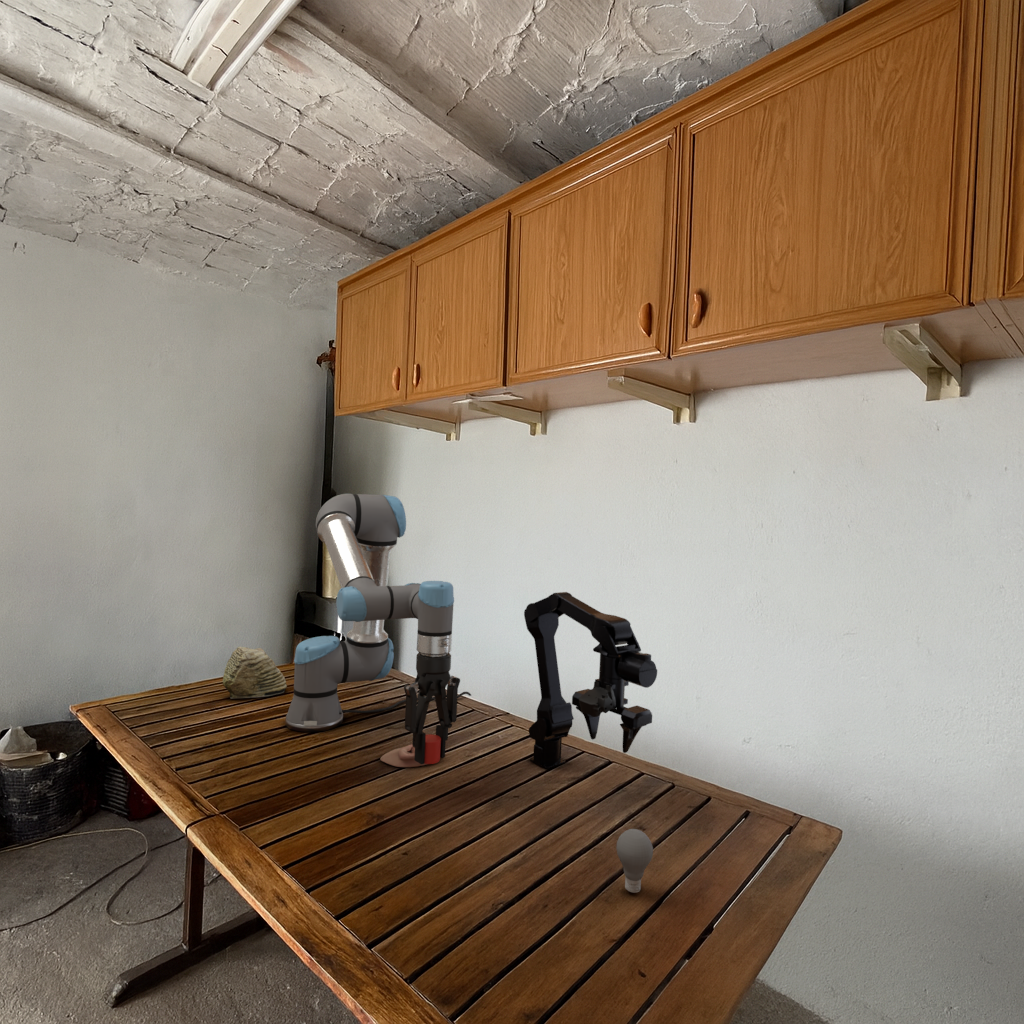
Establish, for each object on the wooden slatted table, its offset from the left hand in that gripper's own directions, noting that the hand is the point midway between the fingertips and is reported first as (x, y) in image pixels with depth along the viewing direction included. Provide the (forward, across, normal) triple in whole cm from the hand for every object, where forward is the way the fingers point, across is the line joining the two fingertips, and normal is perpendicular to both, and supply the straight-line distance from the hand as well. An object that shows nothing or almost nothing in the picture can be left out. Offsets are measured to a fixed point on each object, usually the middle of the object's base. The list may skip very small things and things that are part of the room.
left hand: (429, 758), depth 138 cm
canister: (0, 0, 0) cm, 0 cm away
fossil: (+7, -6, +86) cm, 87 cm away
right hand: (-4, +30, -25) cm, 40 cm away
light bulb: (+7, +6, -50) cm, 51 cm away
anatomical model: (+7, +6, +17) cm, 19 cm away
